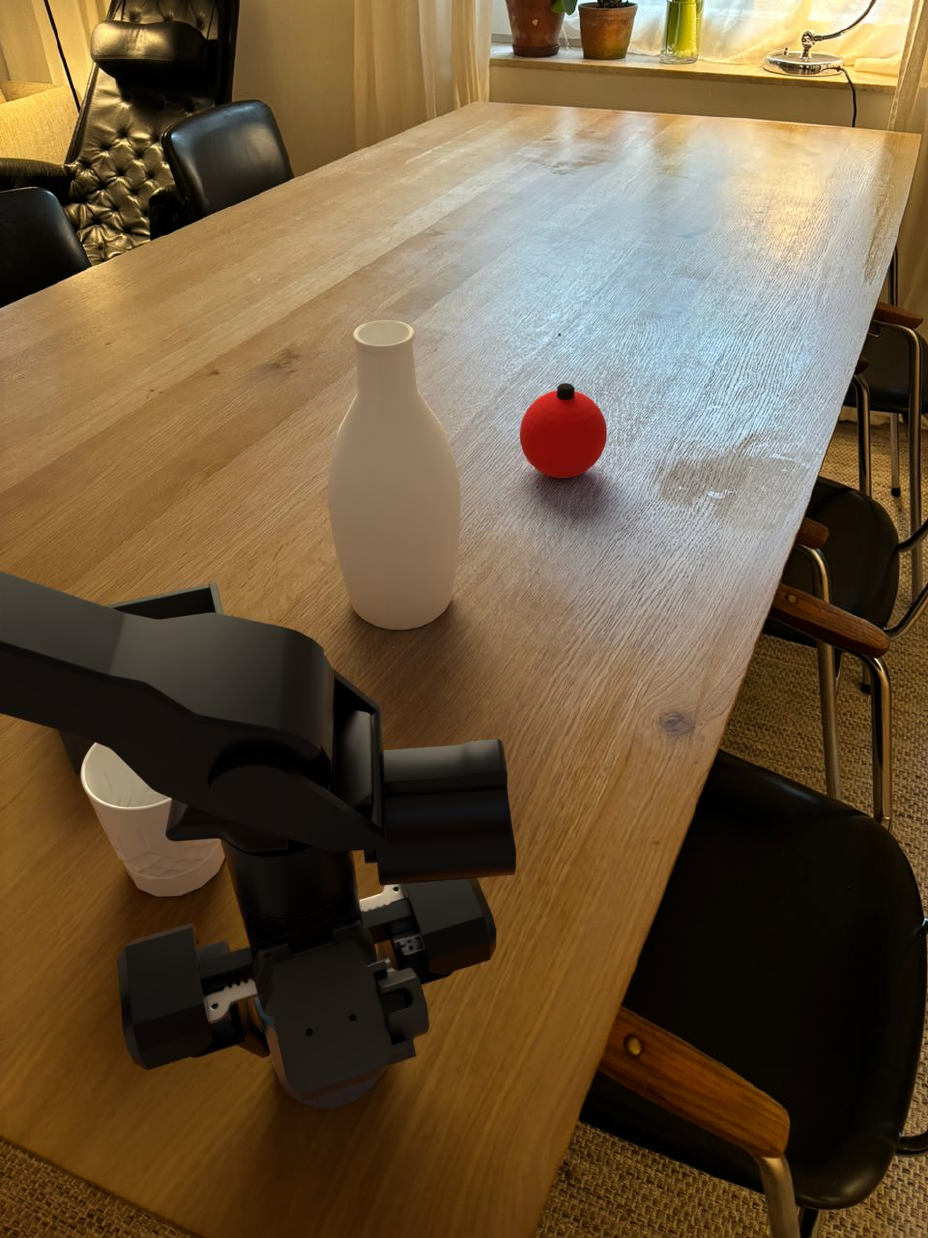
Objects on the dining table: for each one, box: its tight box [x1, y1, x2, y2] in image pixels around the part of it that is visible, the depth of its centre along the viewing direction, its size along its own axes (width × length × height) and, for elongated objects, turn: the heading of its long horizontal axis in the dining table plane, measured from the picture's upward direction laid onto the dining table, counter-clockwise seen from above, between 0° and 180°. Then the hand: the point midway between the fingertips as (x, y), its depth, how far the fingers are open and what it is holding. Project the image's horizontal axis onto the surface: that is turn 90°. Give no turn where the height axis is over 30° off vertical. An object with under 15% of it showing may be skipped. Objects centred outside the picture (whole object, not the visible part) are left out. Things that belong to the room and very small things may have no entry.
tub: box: [57, 581, 225, 775], centre depth 79 cm, size 13×13×5 cm
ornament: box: [519, 382, 608, 479], centre depth 102 cm, size 9×9×10 cm
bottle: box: [326, 319, 462, 631], centre depth 81 cm, size 11×11×25 cm
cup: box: [252, 952, 384, 1109], centre depth 55 cm, size 7×7×8 cm
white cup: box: [80, 742, 226, 898], centre depth 65 cm, size 8×8×10 cm
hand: (327, 1029), depth 57 cm, fingers closed on cup, 7 cm apart
